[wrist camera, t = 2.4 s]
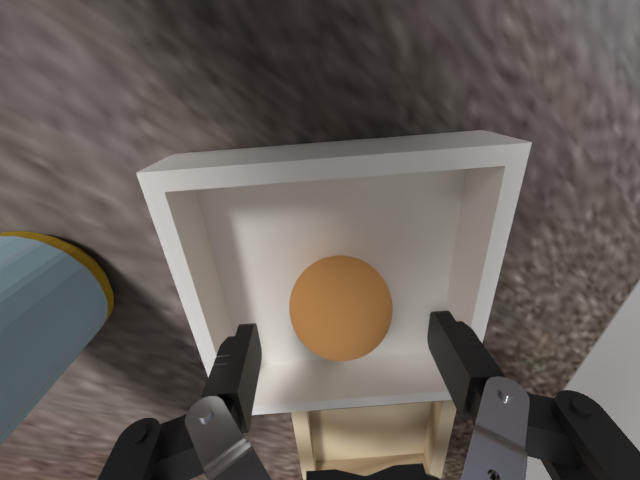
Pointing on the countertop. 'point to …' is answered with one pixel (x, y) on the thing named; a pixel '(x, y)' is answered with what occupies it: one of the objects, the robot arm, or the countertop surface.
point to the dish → (338, 250)
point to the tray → (375, 437)
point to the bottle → (44, 316)
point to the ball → (340, 308)
